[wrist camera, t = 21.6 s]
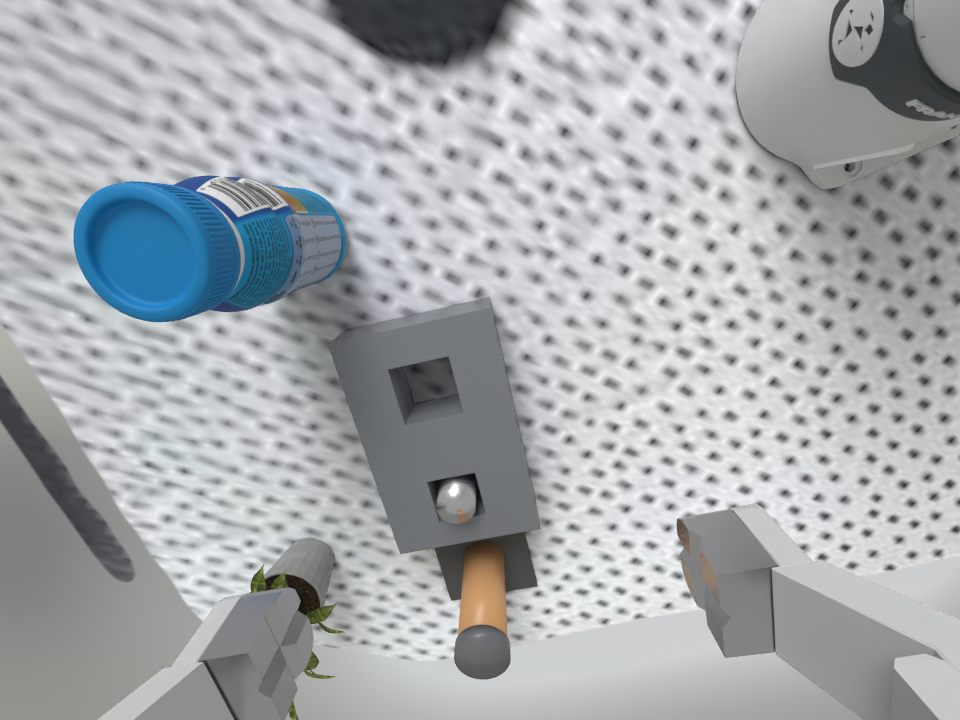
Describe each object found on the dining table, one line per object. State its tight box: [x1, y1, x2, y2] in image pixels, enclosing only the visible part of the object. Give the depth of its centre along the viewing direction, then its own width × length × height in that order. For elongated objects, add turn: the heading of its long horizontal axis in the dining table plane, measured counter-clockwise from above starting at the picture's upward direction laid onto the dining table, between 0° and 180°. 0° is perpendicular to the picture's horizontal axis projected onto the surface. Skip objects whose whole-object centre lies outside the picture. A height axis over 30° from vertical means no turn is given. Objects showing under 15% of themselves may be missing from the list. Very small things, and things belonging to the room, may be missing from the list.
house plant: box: [167, 538, 343, 720], centre depth 44 cm, size 14×14×16 cm
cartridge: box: [454, 541, 510, 679], centre depth 45 cm, size 5×5×12 cm
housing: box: [328, 297, 540, 554], centre depth 43 cm, size 22×14×5 cm, turn 13°
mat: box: [435, 532, 537, 601], centre depth 50 cm, size 10×10×1 cm
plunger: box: [436, 473, 477, 524], centre depth 44 cm, size 4×4×6 cm
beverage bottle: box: [74, 176, 347, 322], centre depth 31 cm, size 8×8×20 cm
